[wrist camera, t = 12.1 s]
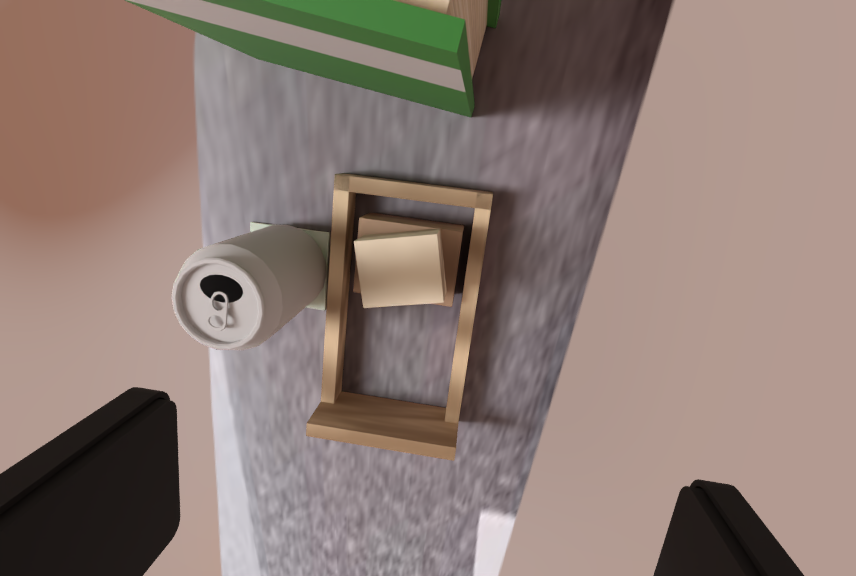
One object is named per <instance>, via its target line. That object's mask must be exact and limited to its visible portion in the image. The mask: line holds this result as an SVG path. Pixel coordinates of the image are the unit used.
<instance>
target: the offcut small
mask: <svg viewBox="0 0 856 576" xmlns="http://www.w3.org/2000/svg"><path fill="white" fill-rule="evenodd" d="M354 247H355V254H356V261H357V268H358V275H359V282H360V288H361V295H362V302H363V308H371V307H386V306H400V305H415V304H430V303H444V300H445V296H446V292H447V290H446V280H445V270H444V259H443V249H442V239H441V228H437V229H425V230H414V231H403V232H391V233H380V234H369V235H363V236H361V237H360V238H358V239H357V240H355V241H354Z"/></svg>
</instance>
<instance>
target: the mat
mask: <svg viewBox="0 0 856 576" xmlns="http://www.w3.org/2000/svg"><path fill="white" fill-rule="evenodd" d="M268 226H271V224H263V223H256V222H250V232H253V231H256V230H259V229H262V228H265V227H268ZM299 229H300V228H299ZM301 230H302V231H304V232H305V233H307V234H308V235H309V236H311V237H312V238H313V239H314V241H315V242H316V243H317V245H318V246H319V247H320V248H321V251H322V253H323V256H324V258H325V261H326V274H327V276H326V279H325V283H324V287H323V289H322V290H321V292H320V293H319V295H318V296H317V298H316V299H314V300H313V301H312V302H311V303H310V304H309V305H307V306H306V308H313V309H319V310H325V309H326V295H327V279H328V262H329V246H330V232H322V231H315V230H308V229H301Z"/></svg>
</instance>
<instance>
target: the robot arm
mask: <svg viewBox="0 0 856 576" xmlns="http://www.w3.org/2000/svg"><path fill="white" fill-rule="evenodd" d="M179 522H180V496H179V466H178V436H177V409H176V405H175V403H174V402H173V401H170V398H169V396H168V394H167V393H165V392H163V391H157V390H151V389H145V388H138V387H133V388H131V389H129V390H127V391H125V392H124V393H122V394H121V395H119V396H118V397H116V398H115V399H113V400H112V401H110V402H109V403H107V404H106V405H104V406H103V407H101V408H100V409H98V410H97V411H95V412H94V413H92V414H91V415H89V416H87V417H86V418H84V419H83V420H81V421H80V422H78V423H77V424H76V425H74V426H72V427H71V428H69V429H68V430H66V431H65V432H63V433H62V434H60V435H59V436H57V437H56V438H54V439H53V440H51V441H50V442H48V443H47V444H45V445H44V446H42V447H40V448H39V449H37V450H36V451H34V452H33V453H31V454H30V455H28V456H27V457H25V458H24V459H22V460H21V461H19V462H18V463H16V464H15V465H13V466H12V467H10V468H9V469H7V470H6V471H4V472H3V473H1V474H0V576H143V575H144V573H145V572H146V571H147V570H148V568H149V567H150V566H151V565H152V563H153V562H154V561H155V559H157V557H158V556H159V555H160V554H161V552H162V551H163V550H164V549H165V547H166V546H167V545H168V544H169V542H170V541H171V540H172V538H173V537H174V535H175V533H176V531H177V529H178V526H179ZM654 576H804V575H803V573H802V572H801V571H800V570H799V568H798V567H797V566H796V564H795V563H794V562H793V561H792V559H791V558H790V557H789V555H788V554H787V553H786V551H785V550H784V549H783V548H782V546H781V545H780V544H779V542H778V541H777V540H776V539H775V537H774V536H773V535H772V533H771V532H770V531H769V530H768V528H767V527H766V526H765V524H764V523H763V522H762V520H761V519H760V518H759V517H758V515H757V514H756V513H755V511H754V510H753V509H752V508H751V506H750V505H749V504H748V503H747V501H746V500H745V499H744V497H743V496H742V495H741V493H740V492H739V491H738V490H737V489H736V488H735V487H734V486H732V485H729V484H722V483H716V482H710V481H704V480H695V481H693V483H692V484H691V486H690V487H688V486H685V487H683V488H682V489H681V491H680V493H679V496H678V499H677V502H676V506H675V509H674V512H673V515H672V518H671V521H670V525H669V528H668V531H667V534H666V538H665V541H664V544H663V547H662V550H661V554H660V557H659V560H658V563H657V566H656V569H655V573H654Z"/></svg>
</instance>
